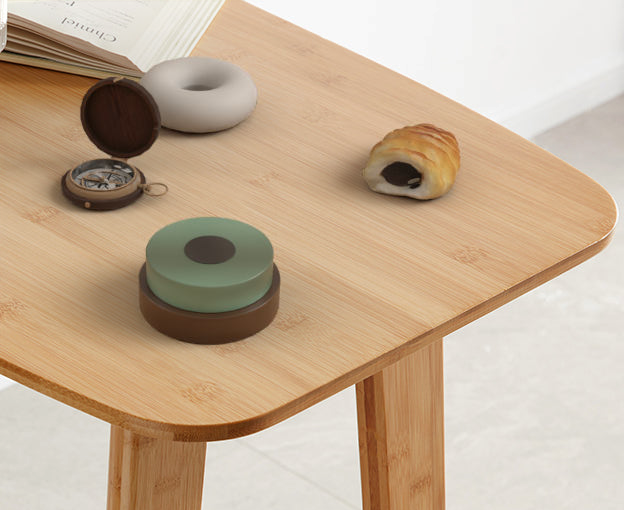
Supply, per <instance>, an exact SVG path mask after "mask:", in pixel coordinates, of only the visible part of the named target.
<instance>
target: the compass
mask: <svg viewBox="0 0 624 510" xmlns="http://www.w3.org/2000/svg"><path fill="white" fill-rule="evenodd" d="M79 115H80V117H79V119H80V123H81V126H82V130H83V131H84V133H85V135H86V137H87V138H88V140H89V141H90V143H92V144H93V145H94V146H95V147H96V148H97V149H98V150H100V151H101V152H103V153H104V154H105V155H108V156H110V157H98V158H91V159H88V160H84V161H82V162H79V163H78V164H76V165H75V166H73V167H72V168H70V169H67V171H66V172H65V173H64V174H63V175H62V177H61V180H60V188H61V189H60V190H61V192H62V196H64V198H66V199H67V201H68V202H70V203H72V204H75V205H76V206H78V207H82V208H86V209H89V210H100V211H101V210H113V209H114V210H115V209H118V208H119V209H120V208H124V207H126V206H128V205H131V204H133V203H135V202H136V201H137V200H139V199H140V198H142V196H143V195H144V194H145V195H146V196H149V197H162V196H164V195H166V194H167V193H168V192H169V187H168V185H167V184H165V183H162V182H156V181H155V182H149V183H147V178H146V176H145V173H144V172H142V171H141V170H140V169H139V168H138V167H136V166H134V165H132V164H130V163H128V160H130V159H134V158H136V157H140V156H142V155H143V154H144V153H146V152H147V151H149V150H150V149H151V148H152V147H153V145H154V144H155V143H156V141H157V140H158V139H159V135H160V132H161V129H162V125H161V115H160V111H159V108H158V105H157V103H156V102H155V100H154V98H153V96H152V95H151V94H150V93H149V92H148V91H147V90H146V89H145V88H144V87H143V86H142V85H140V84H139V83H138V82H137V81H135V80H133V79H130V78H127V77H124V76H122V75H119V76H110V77H106V78H103V79H100V80H99V81H97V82H96V83H95V84H93V85H91V87H90V88H88V90H87V91H86V93H85V94H84V95H83V97H82V100H81V103H80V107H79ZM155 185H156V186H157V185H158V186H162V187H165V191H164V192H162V193H151V191H152V189H153V187H152V186H155Z"/></svg>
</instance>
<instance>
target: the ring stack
mask: <svg viewBox="0 0 624 510" xmlns="http://www.w3.org/2000/svg"><path fill="white" fill-rule="evenodd" d="M274 255H275V250H274V247H273V244H272V242H271V240H270V239H269V237H268V236H267V235H266V234H265V233H264V232H262V230H260V229H259V228H256V227H255V226H254V225H252V224H251V225H250V224H249V223H246V222H243V221H241V220H237V219H232V218H228V217H222V216H221V217H220V216H198V217H191V218H190V217H189V218H185V219H180V220H178V221H177V220H176V221H175V222H171V223H169V224H167V225H165V226H164V227H162V228H160V229H159V230H158V231H156V232H155V233H154V234H153V235H152V236H151V237H150V239H148V242H147V244H146V247H145V260H144V262H143V263H142V265H141V266H140V269H139V273H138V300H139V309H140V312H141V314H142V316H143V319H145V321H146V322H147V323H148V324H149V325H150V326H151V327H152V328H153V329H155V330H156V331H157V332H159V333H161V334H163V335H165V336H168V337H169V338H172V339H174V340H178V341H182V342H185V343H191V344H197V345H198V344H199V345H200V344H201V345H218V344H227V343H228V344H229V343H233V342H234V343H235V342H239V341H242V340H245V339H247V338H250V337H253V336H254V335H256V334H258V333H260V332H262V331H263V330H264V329H266V328H267V327H268V326H269V325H271V323H272V322H273V321H274V319H276V316H277V315H278V312H279V308H280V298H281V297H280V296H281V295H280V294H281V273H280V270H279V268H278V266H277V264H276V263H275V262H274V257H275V256H274Z"/></svg>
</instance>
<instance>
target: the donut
mask: <svg viewBox="0 0 624 510" xmlns="http://www.w3.org/2000/svg"><path fill="white" fill-rule="evenodd" d="M138 84H140V85H142V86H143V87H144V88H145V89H146V90H147V91H148V92H149V93H150V94H151V95H152V96H153V98H154V100H155V102H156V103H157V105H158V108H159V111H160V115H161V127H165V128H167V129H169V130H175V131H179V132H182V133H199V134H202V133H212V132H220V131H224V130H229V129H231V128H233V127H235V126H237V125H239V124H241V123H243V122H244V121H246V120H247V119H248V118H249V116H250V115H251V114H252V113H253V112H254V110H255V109H256V107H257V102H258V95H259V94H258V93H259V92H258V87H257V85H256V83H255V81H254V80H253V77H252V76H251V74H249V73H248V72H247V71H246V70H245V69H243V68H242V67H240V66H239V65H238V64H235V63H233V62H230V61H227V60H224V59H220V58H217V57H216V58H215V57H210V56H198V55H197V56H195V55H193V56H182V57H177V58H171V59H167V60H164V61H162V62H159V63H157V64H155V65H153V66H152V67H151V68H149V69H148V70H147V71H146V72H145V73H144V74H143V75H142V76H141V78H140V80H139V83H138Z"/></svg>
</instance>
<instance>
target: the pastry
mask: <svg viewBox="0 0 624 510" xmlns="http://www.w3.org/2000/svg"><path fill="white" fill-rule="evenodd" d="M460 152H461V150H460V148H459V142H458V140H457V138H456V136H455V134H453V133H452V132H451V131H448V130H445V129H443V128H441V127H437V126H435V124H433V123H432V124H431V123H419V124H415V125H412V126H411V125H410V126H409V125H407V126H404V127H402V128H395V129H394V130H393V131H390V132H387V134H386V135H385V136H384V137H383V138H382V139H381V140H380V141H378V142H376V144H374V146H373V147H372V149H371V150H370V153H369V156H368V162H367V164H366V166H365V168H363V170H362V177H363V180H364V181H365V182H366V183H367V185H368V188H369V189H370V190H372V191H373V192H375V193H380V194H385V195H388V196H399V197H400V196H403V197H404V196H405V197H408V198H412V199H416V200H429V199H432V200H433V199H435V200H436V199H438V198H440V197H442V196H444V195H446V194H448V193H449V192H450V190H451V189H452V188H453V186H454V184H455V182H456V178H457V175H458V173H459V171H460V169H461V153H460Z"/></svg>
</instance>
